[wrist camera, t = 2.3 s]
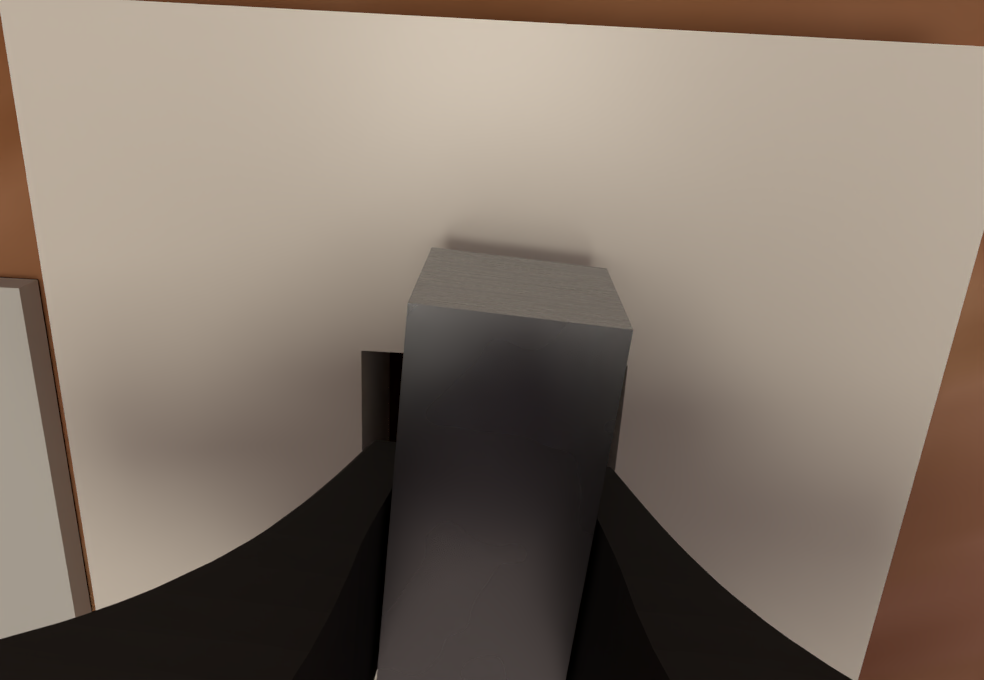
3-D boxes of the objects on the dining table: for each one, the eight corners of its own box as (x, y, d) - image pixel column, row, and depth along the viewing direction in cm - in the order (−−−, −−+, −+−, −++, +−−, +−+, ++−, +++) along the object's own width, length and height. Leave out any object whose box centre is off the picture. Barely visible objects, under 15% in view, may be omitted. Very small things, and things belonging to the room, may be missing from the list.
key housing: (774, 686, 18) (823, 804, 15) (181, 651, 18) (119, 761, 15) (922, 50, 13) (1033, 49, 10) (107, 6, 13) (-3, -7, 10)
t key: (538, 569, 17) (552, 857, 11) (404, 554, 17) (342, 834, 11) (598, 214, 14) (662, 333, 8) (437, 194, 14) (379, 300, 8)
